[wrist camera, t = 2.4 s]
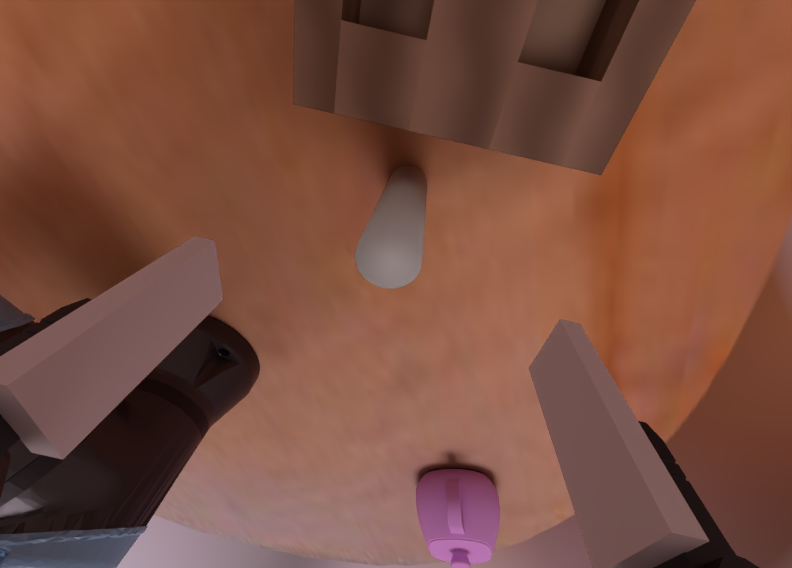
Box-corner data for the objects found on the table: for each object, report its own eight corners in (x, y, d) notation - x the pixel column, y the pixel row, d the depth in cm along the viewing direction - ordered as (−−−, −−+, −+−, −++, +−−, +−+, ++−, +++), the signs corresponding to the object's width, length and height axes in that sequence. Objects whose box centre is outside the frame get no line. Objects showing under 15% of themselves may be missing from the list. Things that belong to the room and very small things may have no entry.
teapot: (424, 511, 60) (423, 589, 51) (409, 452, 50) (403, 536, 41) (496, 514, 58) (508, 596, 48) (496, 452, 48) (511, 542, 38)
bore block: (322, 100, 25) (293, 104, 20) (338, -191, 17) (298, -309, 12) (567, 157, 25) (601, 175, 20) (689, -104, 17) (794, -181, 12)
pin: (385, 200, 28) (351, 280, 17) (392, 161, 27) (359, 221, 15) (422, 208, 28) (413, 294, 17) (431, 170, 27) (429, 237, 15)
